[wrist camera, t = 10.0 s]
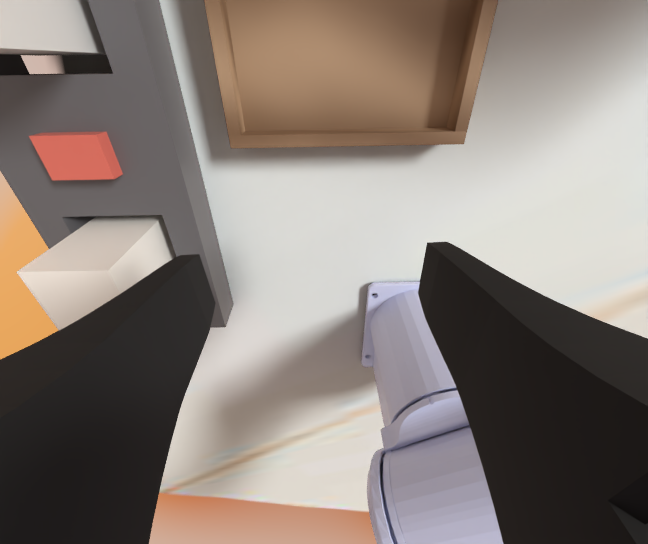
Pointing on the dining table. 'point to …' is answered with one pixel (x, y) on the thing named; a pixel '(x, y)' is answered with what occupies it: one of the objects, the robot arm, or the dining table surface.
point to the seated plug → (48, 28)
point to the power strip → (110, 141)
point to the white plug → (97, 264)
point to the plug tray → (348, 70)
